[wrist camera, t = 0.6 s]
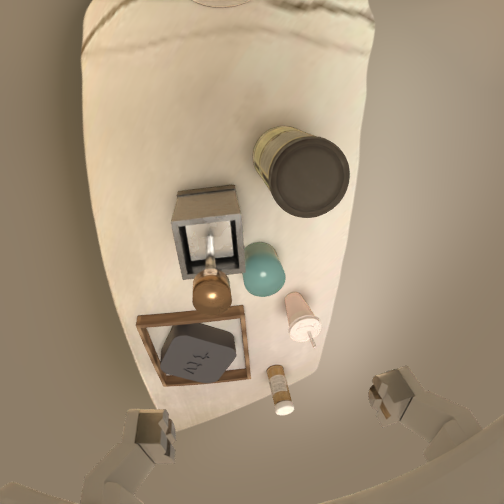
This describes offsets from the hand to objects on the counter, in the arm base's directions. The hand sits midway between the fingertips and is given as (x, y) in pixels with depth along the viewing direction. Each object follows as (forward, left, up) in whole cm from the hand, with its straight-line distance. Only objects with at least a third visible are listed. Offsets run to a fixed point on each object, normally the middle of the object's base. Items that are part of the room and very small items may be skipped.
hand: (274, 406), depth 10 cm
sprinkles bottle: (+54, +8, -41) cm, 68 cm away
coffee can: (0, +10, -41) cm, 42 cm away
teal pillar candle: (+19, +5, -41) cm, 45 cm away
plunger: (+9, -3, -32) cm, 33 cm away
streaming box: (+41, -10, -41) cm, 59 cm away
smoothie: (+30, +12, -41) cm, 52 cm away
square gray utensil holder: (+9, -3, -41) cm, 42 cm away
